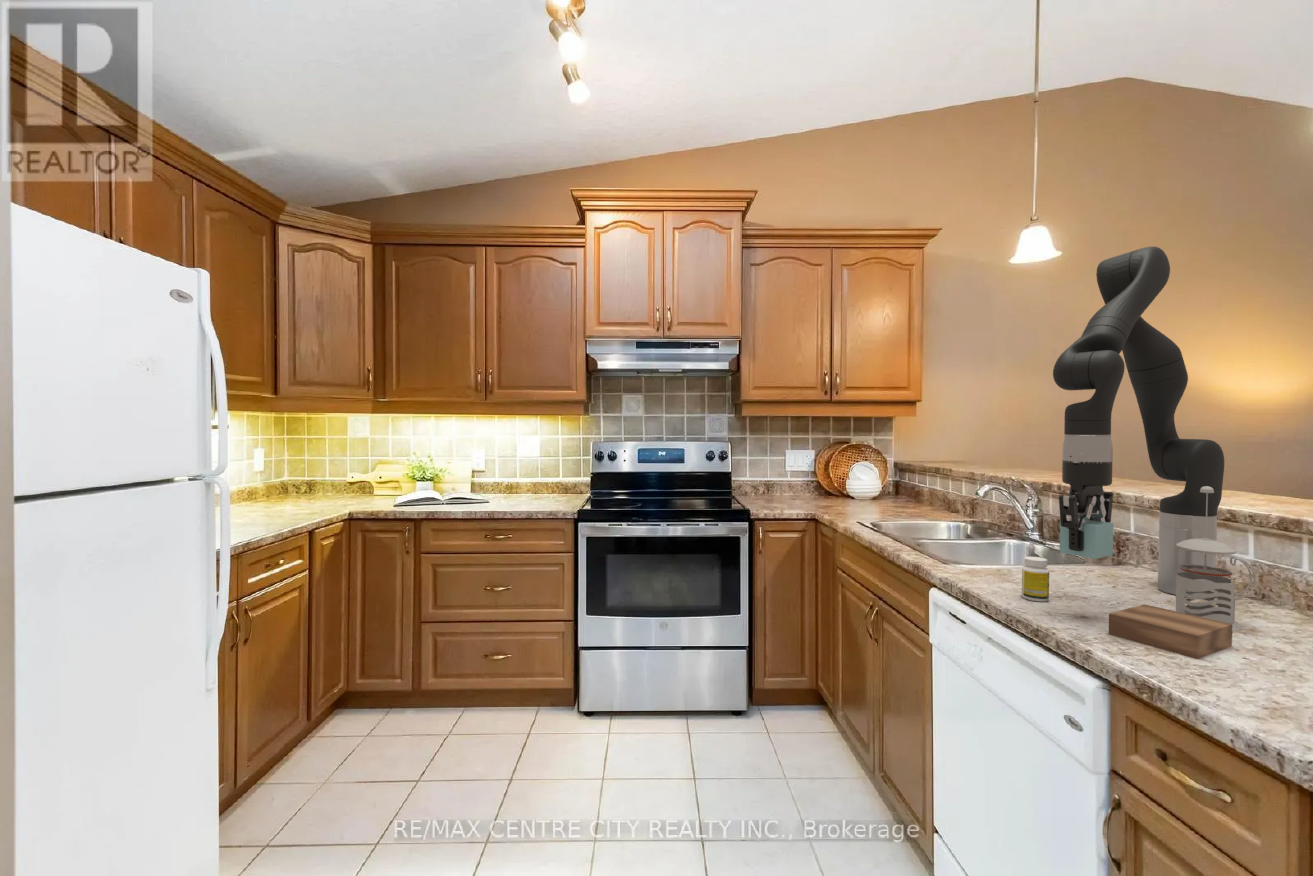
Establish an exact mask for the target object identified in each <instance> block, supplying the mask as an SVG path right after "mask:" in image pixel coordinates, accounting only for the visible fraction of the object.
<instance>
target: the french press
mask: <svg viewBox="0 0 1313 876" xmlns="http://www.w3.org/2000/svg"><path fill="white" fill-rule="evenodd" d="M1200 492H1202V493H1207V494H1206V530H1205V538H1202V539H1189V540H1184V541H1182V542H1179V543H1177V544H1176V545H1177V547H1178V548H1180V549H1183V550H1187V551H1192V552H1199V553H1205V566H1202V565H1201V566H1200V565H1193V564H1192V565H1191V564H1190V565H1189V564H1187V565H1180V566H1179V567H1180V569H1181V570H1184V571H1186V572H1180V573H1177V579H1176V595H1175V611H1176V612H1180V613H1185V614H1189V615H1194V616H1198V617H1202V618H1207V619H1211V620H1215V621H1220V622H1224V623H1229V624H1232V632H1235V631H1240V630H1242V628H1241V626H1240V625H1239V624H1238V623H1237V622H1236V621H1235V618H1236V617H1235V615H1236V614H1235V613H1236V611H1235V610H1236V601H1237V600H1239V599H1242V598H1247V596H1249V595H1250V594H1252V592H1253V591H1254V590H1255V587H1256V585H1257V574H1256V572H1255V570H1254V569H1253V567H1252V566H1251V564H1249V563H1248V562H1247V561H1245V560H1243V559H1242V558H1239V557H1236V556H1231V557H1229V563H1230V565H1231V566H1233V567H1234V566H1235V567H1236V564H1237V561H1240V562H1241V563H1242V564H1244V565H1245V566H1246V569H1247V571H1248V574H1249V581H1248V584H1247V586H1246V587H1245V589H1244V590H1242V591H1241V592H1238V593H1235V581H1234V580H1233V581H1232V579H1230V578H1227V577H1229V576H1232V575H1233V572H1232V571H1231V570H1227V569H1226V568H1220V567H1217V566H1216V567H1215V568H1214V567H1213V568H1212V567H1209V566H1208V567H1207V566H1206V553H1207V554H1216V555H1224V556H1225V555H1227V556H1228V555H1235V554H1236V553H1237V550H1236V549H1234V548H1233V547H1232V546H1230V545H1228V544H1226V543H1223V542H1220V541H1214V540H1210V539H1208V538H1207V507H1208V493H1214V490H1213V488H1212V487H1208V486H1204V487H1202V488H1201V489H1200ZM1233 559H1234V560H1233ZM1251 571H1252V572H1251ZM1252 574H1253V576H1252ZM1194 579H1206V580H1209V581H1212V582H1214V583H1212V582H1204V581H1198V580H1194ZM1252 579H1253V583H1252ZM1251 584H1252V587H1251V589H1250V591H1249V592H1248V593H1246V592H1247V591H1248V589H1249V588H1250V586H1251ZM1213 589H1214V590H1215V593H1214V592H1211V591H1208V590H1213ZM1185 590H1188V591H1189V592H1186V593H1185ZM1193 593H1206V595H1201V596H1198V595H1190V594H1193ZM1244 593H1246V594H1245V595H1243V594H1244ZM1241 595H1242V596H1241ZM1210 597H1213V598H1210ZM1214 598H1216V599H1214ZM1195 600H1204V601H1201V602H1200V601H1199V602H1197V601H1196V602H1193V601H1195ZM1191 601H1192V602H1191ZM1214 605H1216V606H1214Z"/></svg>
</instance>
